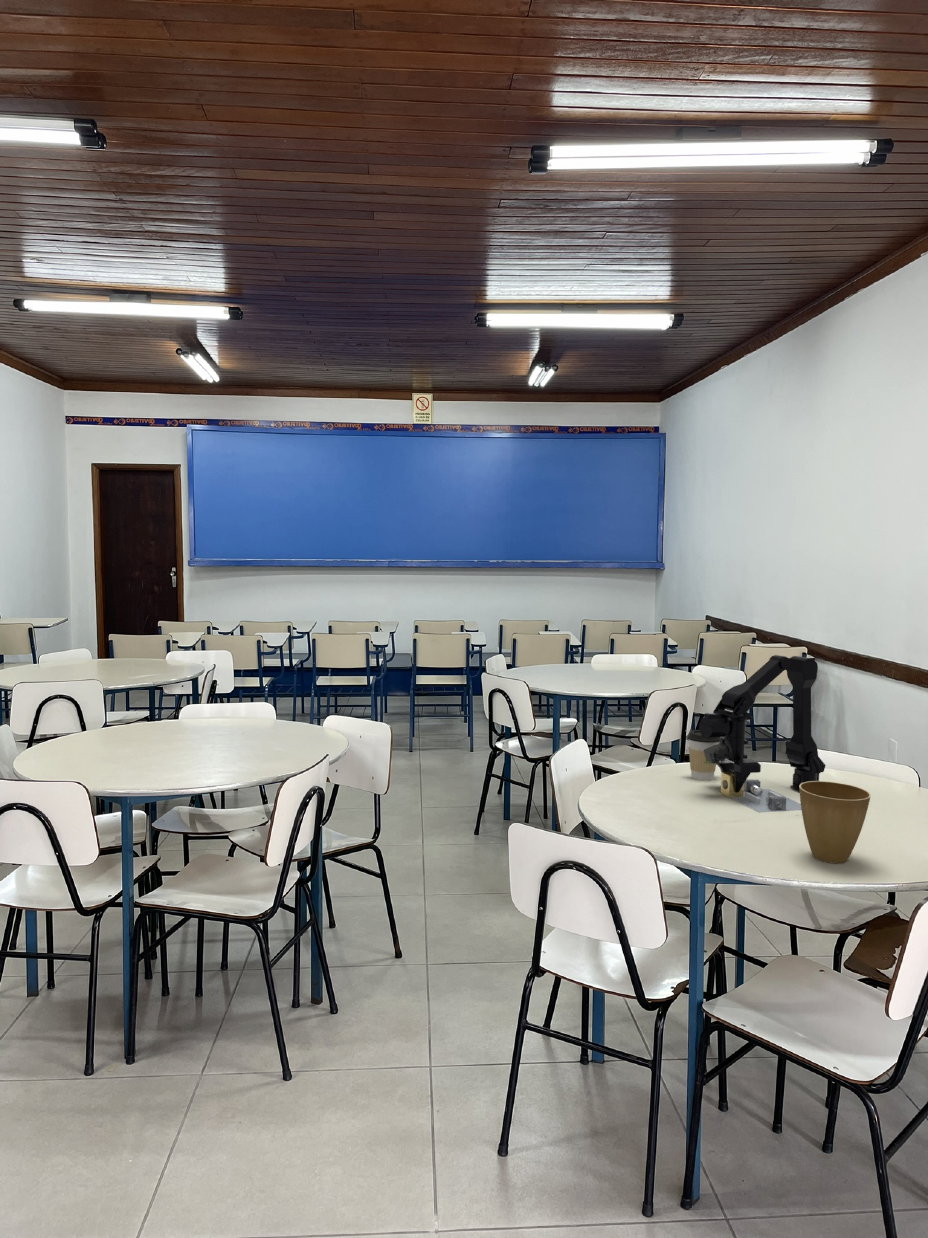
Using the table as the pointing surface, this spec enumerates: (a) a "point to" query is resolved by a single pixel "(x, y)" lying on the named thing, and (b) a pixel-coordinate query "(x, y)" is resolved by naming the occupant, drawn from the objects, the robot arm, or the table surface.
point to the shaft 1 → (753, 787)
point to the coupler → (729, 785)
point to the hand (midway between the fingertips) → (732, 790)
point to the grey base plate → (760, 801)
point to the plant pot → (832, 818)
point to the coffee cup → (701, 755)
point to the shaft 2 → (776, 803)
